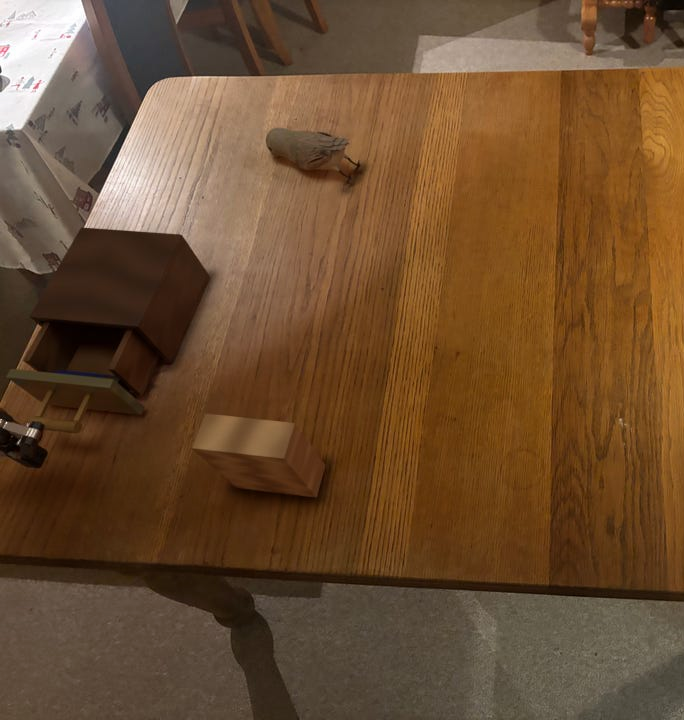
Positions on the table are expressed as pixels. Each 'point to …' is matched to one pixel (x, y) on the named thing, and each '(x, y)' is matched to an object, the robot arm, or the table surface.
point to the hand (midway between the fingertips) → (39, 460)
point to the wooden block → (260, 454)
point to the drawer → (85, 371)
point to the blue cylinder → (94, 376)
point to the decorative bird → (309, 149)
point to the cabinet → (127, 286)
